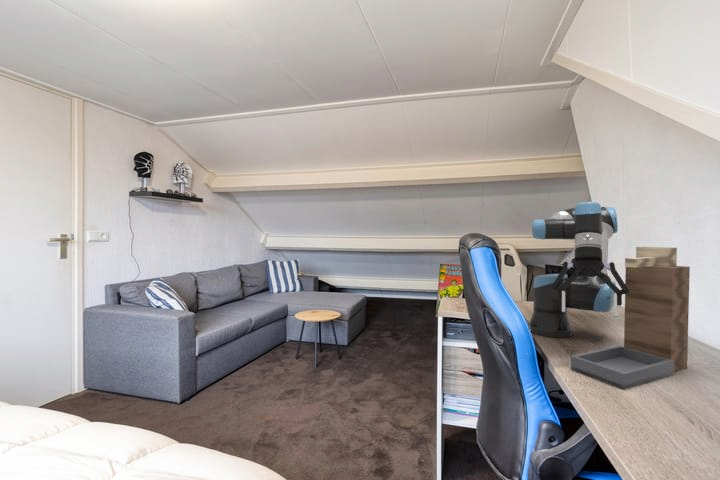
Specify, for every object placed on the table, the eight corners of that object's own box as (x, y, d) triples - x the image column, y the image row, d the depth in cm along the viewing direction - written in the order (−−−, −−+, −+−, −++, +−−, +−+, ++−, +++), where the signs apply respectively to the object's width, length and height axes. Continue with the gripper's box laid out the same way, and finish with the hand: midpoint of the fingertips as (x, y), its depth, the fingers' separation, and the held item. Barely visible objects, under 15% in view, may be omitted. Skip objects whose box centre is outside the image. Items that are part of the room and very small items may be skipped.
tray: (623, 389, 88) (624, 374, 88) (570, 369, 101) (571, 355, 101) (673, 374, 97) (674, 360, 97) (619, 358, 110) (619, 345, 110)
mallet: (645, 268, 96) (646, 248, 96) (614, 265, 103) (615, 247, 103) (676, 266, 102) (676, 247, 102) (645, 264, 109) (645, 246, 109)
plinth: (670, 373, 98) (672, 267, 97) (623, 358, 109) (625, 264, 108) (687, 368, 102) (689, 266, 101) (640, 354, 113) (642, 263, 112)
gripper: (543, 245, 117) (542, 308, 112) (637, 244, 103) (641, 317, 98) (546, 251, 123) (545, 311, 118) (635, 251, 109) (639, 319, 104)
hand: (588, 314), depth 108 cm, fingers open, 13 cm apart
